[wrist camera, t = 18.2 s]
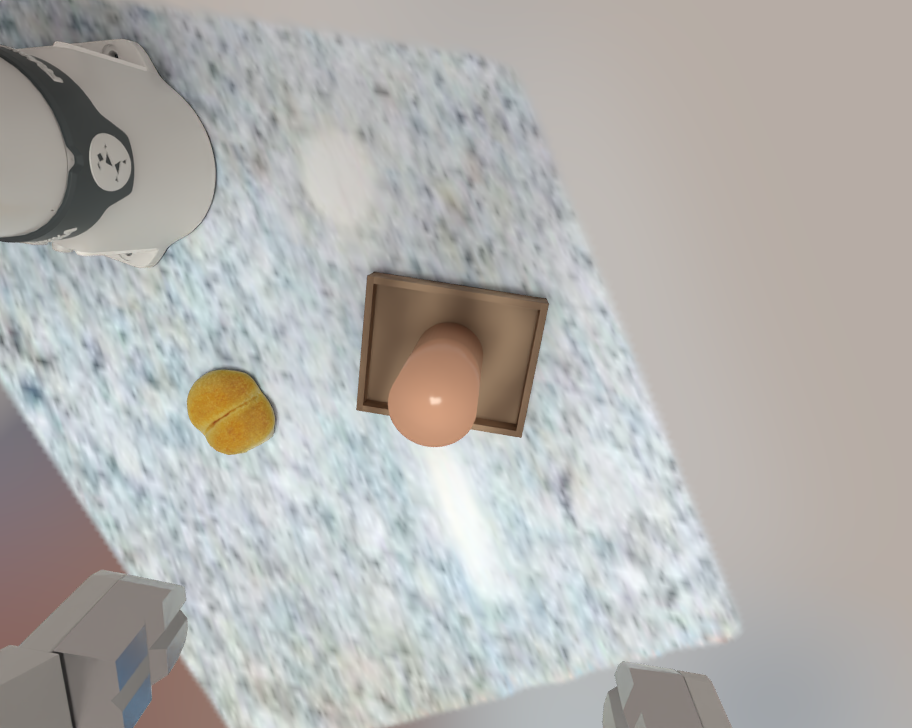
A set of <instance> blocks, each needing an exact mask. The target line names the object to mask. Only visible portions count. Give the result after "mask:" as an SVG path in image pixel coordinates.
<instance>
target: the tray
mask: <svg viewBox="0 0 912 728" xmlns="http://www.w3.org/2000/svg"><path fill="white" fill-rule="evenodd" d="M548 305H549V303H548V301H547V299H546V298H539V297H533V296H526V295H520V294H514V293H507V292H501V291H494V290H488V289H482V288H475V287H469V286H462V285H456V284H449V283H443V282H437V281H430V280H424V279H417V278H411V277H405V276H398V275H392V274H385V273H379V272H373V273H371V274H369V275H368V276H367V286H366V298H365V310H364V322H363V335H362V347H361V359H360V371H359V384H358V396H357V408H356V410H359V411H365V412H371V413H377V414H383V415H389V416H390V414H389V410H388V397H389V393H390V390H391V387H392V385H393V384H394V382H395V380H396V378H397V377H398V375H399V373H400V371H401V370H402V368H403V366H404V365H405V363H406V361H407V359H408V358H409V356H410V354H411V352H412V351H413V349H414V347H415V345H416V344H417V342H418V340H419V339H420V337H421V336H422V334H423V333H424V332H425V331H426V330H427V329H429V328H430V327H432V326H434V325H436V324H440V323H448V322H450V323H457V324H460V325H463V326H465V327H466V328H468V329H469V330H471V331H472V332H473V333H474V334H475V335H476V336H477V338H478V339H479V341H480V343H481V346H482V350H483V363H482V371H481V380H480V389H479V397H478V406H477V414H476V418H475V421H474V424H473V426H472V427H471V429H472V430H478V431H484V432H490V433H496V434H502V435H508V436H514V437H520V438H521V437H522V432H523V427H524V423H525V418H526V413H527V408H528V403H529V398H530V393H531V388H532V384H533V379H534V374H535V369H536V364H537V359H538V354H539V349H540V345H541V340H542V335H543V330H544V325H545V320H546V315H547V310H548Z"/></svg>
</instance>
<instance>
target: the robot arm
mask: <svg viewBox="0 0 912 728" xmlns="http://www.w3.org/2000/svg"><path fill="white" fill-rule="evenodd" d="M116 54H118V58H115V55H116ZM215 176H216V173H215V161H214V156H213V151H212V147H211V144H210V141H209V138H208V136H207V133H206V131H205V129H204V127H203V125H202V123H201V121H200V120H199V118H198V116H197V115H196V113H195V112H194V111H193V109H192V108H191V107H190V105H189V104H188V103H187V102H186V101H185V100H184V99H183V98H182V97H181V96H180V95H179V94H178V93H177V92H176V91H175V90H174V89H172V88H171V87H170V86H169V85H168V84H167V83H166V82H165V81H164V80H163V79H162V78H161V77H160V76H159V74H158V72H157V70H156V69H155V67H154V65H153V63H152V61H151V60H150V58H149V56H148V55H147V53H146V52H145V50H144V49H143V48H142V47H141V46H140V45H139V44H138V43H136V42H134V41H130V40H126V39H113V40H103V41H93V42H83V43H73V44H69V43H64V42H58V41H56V42H54V45H52V46H42V47H32V48H22V49H14V48H11V47H7V46H4V45H0V241H2V242H19V243H26V244H32V245H46V244H48V242H52V249H53V250H55V251H58V252H65V253H70V252H73V250H75V251H76V253H77V254H78V255H81V256H99V255H104V256H107V257H109V258H112V259H115V260H118V261H120V262H123V263H126V264H129V265H132V266H134V267H138V268H151V267H153V266H155V265H156V264H157V263H158V261H159V260H160V259H161V257H162V256H163V254H164V253H165V251H166V249H167V248H168V247H169V246H170V245H171V244H173V243H174V242H176V241H178V240H179V239H181V238H183V237H185V236H186V235H188V234H189V233H190V232H192V231H193V230H194V229H195V228H196V227H197V226H198V225H199V224H200V222H201V221H202V220H203V218H204V217H205V215H206V213H207V211H208V209H209V207H210V204H211V202H212V198H213V194H214V189H215ZM131 253H132V254H131ZM185 601H186V593H185V587H184V586H181V585H177V584H172V583H167V582H162V581H157V580H152V579H148V578H143V577H138V576H133V575H127V574H122V573H116V572H111V571H106V570H100V571H98V572H97V573H94V574H92V575H91V576H89V578H88V579H86V581H84V582H83V583H82V584H81V585H80V587H78V588H77V589H76V590H75V591H74V592H73V593H72V594H71V595H70V596H69V597H68V598H67V599H66V600H65V601H64V602H63V603H62V604H61V605H60V606H59V607H58V608H57V609H56V610H55V611H54V612H53V613H52V614H51V615H50V616H49V617H48V618H47V619H46V620H45V621H44V622H43V623H42V624H41V625H39V626H38V628H37V629H36V630H34V631H33V632H32V633H31V634H30V635H29V636H28V637H27V638H26V639H25V640H24V641H23V642H22V643H21V644H20V645H19V646H12V645H9V646H7V647H5V648H3V649H1V650H0V728H133V727H134V726H135V724H136V723H137V721H138V720H139V718H140V717H141V715H142V714H143V712H144V711H145V709H146V708H147V706H148V705H149V703H150V702H151V700H152V690H151V689H152V688H151V685H153V684H155V683H156V682H157V681H159V680H161V679H162V678H164V677H165V676H167V675H168V674H169V673H170V671H171V669H172V668H173V666H174V665H175V663H176V661H177V660H178V658H179V656H180V653H181V651H182V648H183V646H184V643H185V641H186V635H187V630H188V623H187V617H186V616H185V615H184V614H183V612H182V611H181V610H180V608H181V607H182V606H183V604H184V603H185ZM615 679H616V683H617V687H615V688H613V689H612V690H610V691H609V692H608V693H607V697H606V699H605V703H604V707H603V721H602V723H603V728H732V726H731V724H730V722H729V720H728V717H727V715H726V713H725V711H724V709H723V706H722V704H721V702H720V700H719V697H718V695H717V693H716V691H715V688H714V686H713V684H712V682H711V681H710V679H709V678H708V677H707V676H706V675H701V674H696V673H690V672H684V671H676V670H674V669H668V668H663V667H657V666H650V665H644V664H638V663H631V662H625V661H623V662H621V663H620V664H619V665H618V667H617V670H616V672H615Z"/></svg>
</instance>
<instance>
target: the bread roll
mask: <svg viewBox="0 0 912 728" xmlns="http://www.w3.org/2000/svg"><path fill="white" fill-rule="evenodd" d="M187 409H188V415H189V418H190V420H191V422H192V424H193V425H194V426H195V427H196V428H197V429H198V430H200V431H201V432H202V433H203V434H204V435H205V437H206V439H207V441H208V443H209V444H210V446H211V447H213V448H214V449H215V450H216V451H218V452H221V453H224V454H227V455H232V454H239V453H245V452H247V451H248V450H251V449H253V448H254V447H256V446H258V445H260V444H262V443H264V442H266V441H267V440H269V439H270V438H271V437H272V436H273V434H274V426H275V415H274V411H273V408H272V406H271V405H270V403H269V401H268V400H267V398H266V397H265V396H264V394H263V393H262V392H261V391H260V389H259V387H258V385H257V384H256V383H255V381H254V380H253V379H252V378H251V377H250V376H249V375H248V374H246V373H244V372H240V371H234V370H214V371H210V372H208V373H206V374H205V375H203V376H202V377H200V378H199V379H198V380H197V381H196V382H195V383H194V384H193V386H192V388H191V390H190V392H189V394H188V398H187Z"/></svg>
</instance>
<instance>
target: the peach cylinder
mask: <svg viewBox="0 0 912 728" xmlns="http://www.w3.org/2000/svg"><path fill="white" fill-rule="evenodd" d="M482 363H483V350H482V346H481V343H480V341H479V339H478V338H477V336H476V335H475V334H474V333H473V332H472V331H471V330H469V329H468V328H466V327H465V326H463V325H460V324H457V323H450V322H448V323H440V324H436V325H434V326H432V327H430V328H429V329H427V330H426V331H425V332H424V333H423V334H422V336H421V337H420V339H419V340H418V342H417V344H416V345H415V347H414V349H413V351H412V352H411V354H410V356H409V358H408V359H407V361H406V363H405V365H404V366H403V368H402V370H401V371H400V373H399V375H398V377H397V378H396V380H395V382H394V384H393V385H392V387H391V390H390V393H389V397H388V410H389V414H390V417H391V420H392V422H393V424H394V425H395V427H396V428H397V430H398V431H399V432H400V433H401V434H402V435H403V436H405V437H406V438H407V439H409V440H410V441H412V442H414V443H417V444H420V445H423V446H428V447H441V446H446V445H450V444H452V443H455V442H457V441H458V440H460V439H461V438H463V437H464V436H465V435H466V434H467V433H468V432H469V430H470V429H471V427H472V426H473V424H474V421H475V418H476V414H477V406H478V397H479V389H480V380H481V371H482Z"/></svg>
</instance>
